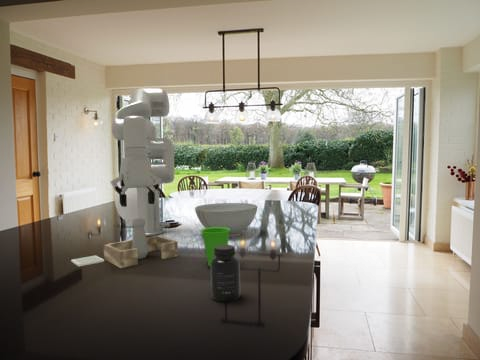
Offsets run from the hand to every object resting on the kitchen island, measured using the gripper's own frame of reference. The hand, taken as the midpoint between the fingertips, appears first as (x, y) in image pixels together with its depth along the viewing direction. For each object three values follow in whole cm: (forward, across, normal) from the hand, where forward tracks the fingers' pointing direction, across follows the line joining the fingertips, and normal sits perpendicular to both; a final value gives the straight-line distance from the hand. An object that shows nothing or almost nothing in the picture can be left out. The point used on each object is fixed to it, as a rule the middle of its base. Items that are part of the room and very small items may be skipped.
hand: (137, 205), depth 125 cm
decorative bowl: (+17, -44, -10) cm, 49 cm away
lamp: (+17, -24, -62) cm, 68 cm away
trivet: (+18, +15, -8) cm, 24 cm away
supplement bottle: (+19, +1, +48) cm, 52 cm away
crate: (+18, 0, 0) cm, 18 cm away
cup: (+18, -13, +25) cm, 34 cm away
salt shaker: (+18, 0, -1) cm, 18 cm away
